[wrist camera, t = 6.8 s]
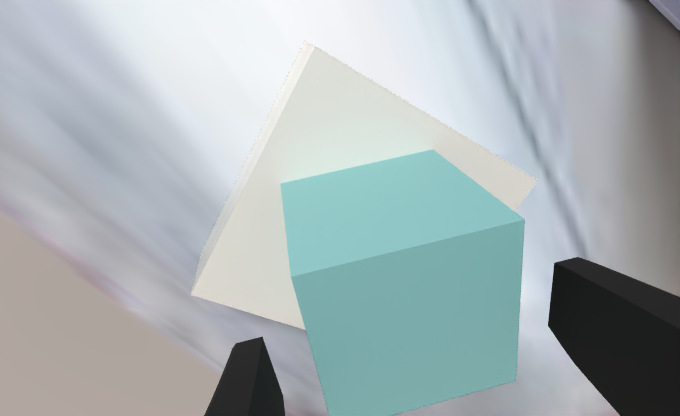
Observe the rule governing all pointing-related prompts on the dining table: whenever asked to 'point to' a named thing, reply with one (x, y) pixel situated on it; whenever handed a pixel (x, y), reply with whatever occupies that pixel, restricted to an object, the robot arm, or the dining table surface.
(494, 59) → the dining table surface
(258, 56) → the dining table surface
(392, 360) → the teal block
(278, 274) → the stone plinth
